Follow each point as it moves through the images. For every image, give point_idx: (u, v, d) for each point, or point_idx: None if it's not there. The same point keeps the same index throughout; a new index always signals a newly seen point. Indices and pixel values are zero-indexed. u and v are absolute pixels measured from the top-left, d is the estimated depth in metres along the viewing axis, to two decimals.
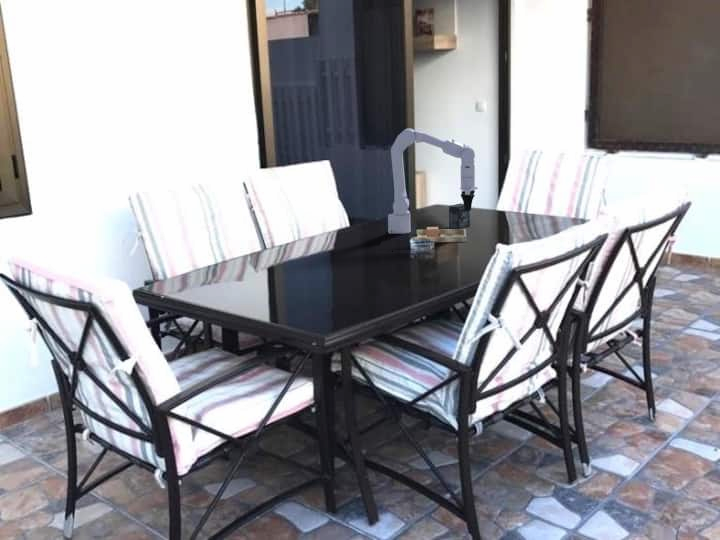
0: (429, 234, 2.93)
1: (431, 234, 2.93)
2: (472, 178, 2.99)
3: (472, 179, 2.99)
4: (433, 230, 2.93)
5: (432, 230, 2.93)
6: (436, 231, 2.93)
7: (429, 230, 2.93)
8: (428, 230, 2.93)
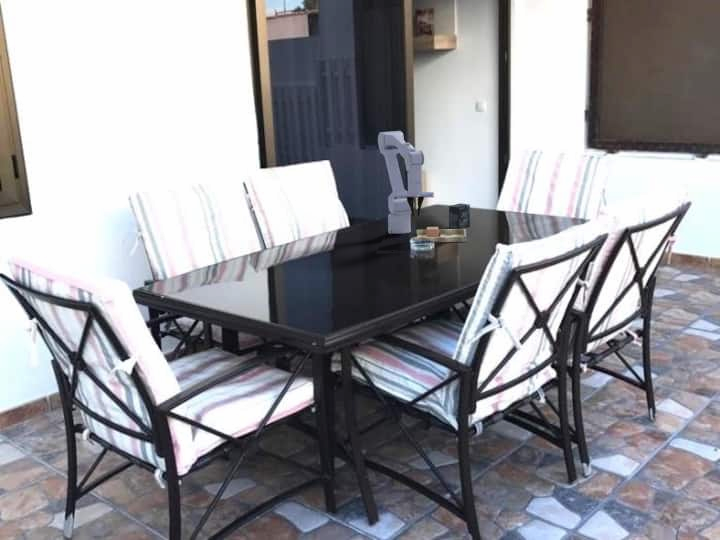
0: (429, 234, 2.93)
1: (431, 234, 2.93)
2: (409, 184, 2.90)
3: (409, 185, 2.90)
4: (433, 230, 2.93)
5: (432, 230, 2.93)
6: (436, 231, 2.93)
7: (429, 230, 2.93)
8: (428, 230, 2.93)
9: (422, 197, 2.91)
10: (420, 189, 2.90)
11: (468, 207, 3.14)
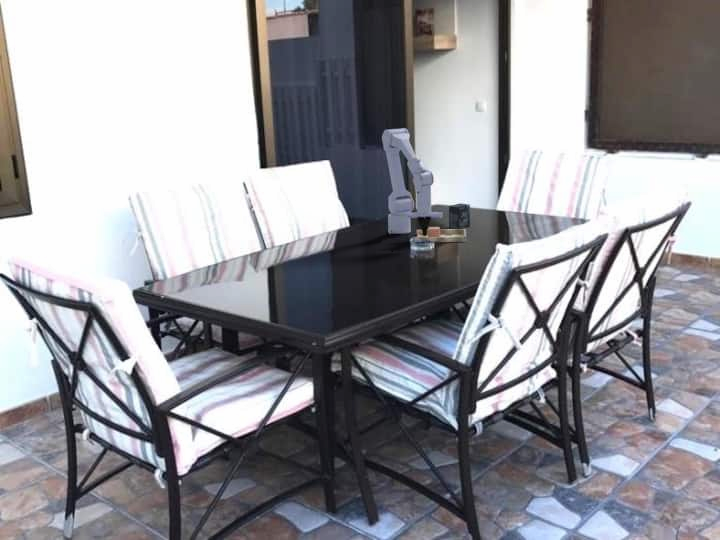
0: (430, 234, 2.93)
1: (433, 234, 2.93)
2: (418, 204, 2.91)
3: (418, 205, 2.91)
4: (434, 230, 2.93)
5: (433, 230, 2.93)
6: (437, 231, 2.93)
7: (430, 230, 2.93)
8: (429, 230, 2.93)
9: (431, 217, 2.93)
10: (429, 209, 2.91)
11: (468, 207, 3.14)
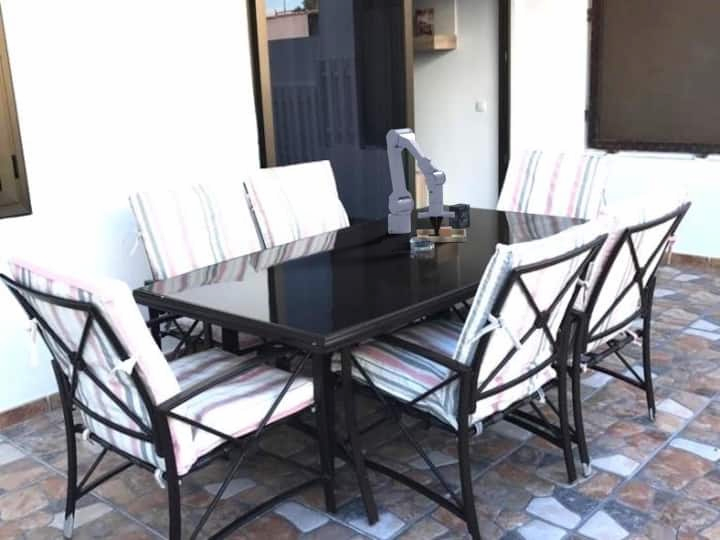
0: (442, 234, 2.93)
1: (445, 233, 2.92)
2: (430, 204, 2.90)
3: (430, 205, 2.91)
4: (447, 230, 2.92)
5: (446, 230, 2.92)
6: (450, 231, 2.92)
7: (443, 230, 2.92)
8: (442, 230, 2.92)
9: None
10: (441, 209, 2.91)
11: (468, 207, 3.14)
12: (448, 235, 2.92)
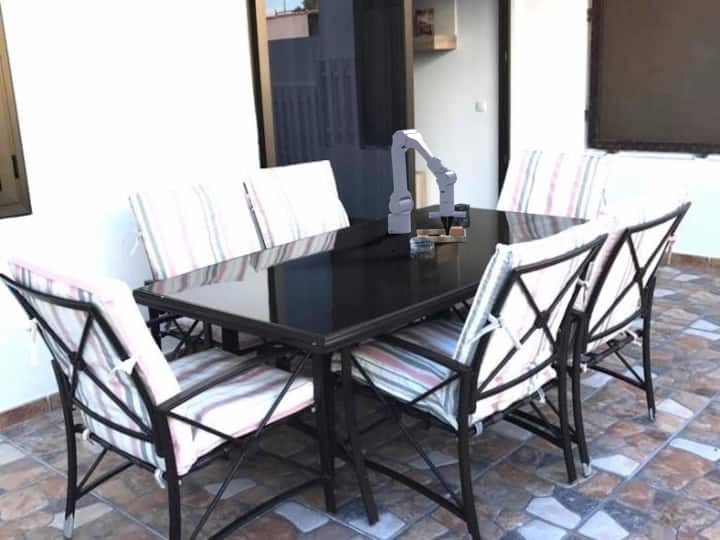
0: (453, 234, 2.92)
1: (456, 233, 2.92)
2: (441, 203, 2.90)
3: (441, 204, 2.90)
4: (457, 230, 2.91)
5: (456, 230, 2.91)
6: (460, 231, 2.91)
7: (453, 230, 2.91)
8: (452, 230, 2.92)
9: None
10: (452, 209, 2.90)
11: (468, 207, 3.14)
12: (459, 235, 2.92)
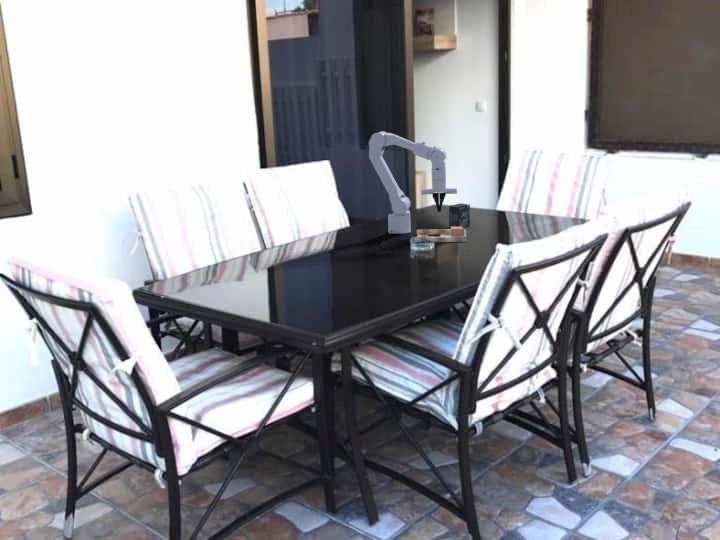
0: (453, 234, 2.92)
1: (456, 233, 2.92)
2: (433, 180, 2.99)
3: (433, 181, 2.99)
4: (457, 230, 2.91)
5: (456, 230, 2.91)
6: (460, 231, 2.91)
7: (453, 230, 2.91)
8: (452, 230, 2.92)
9: (445, 193, 3.01)
10: (444, 186, 2.99)
11: (468, 207, 3.14)
12: (459, 235, 2.92)
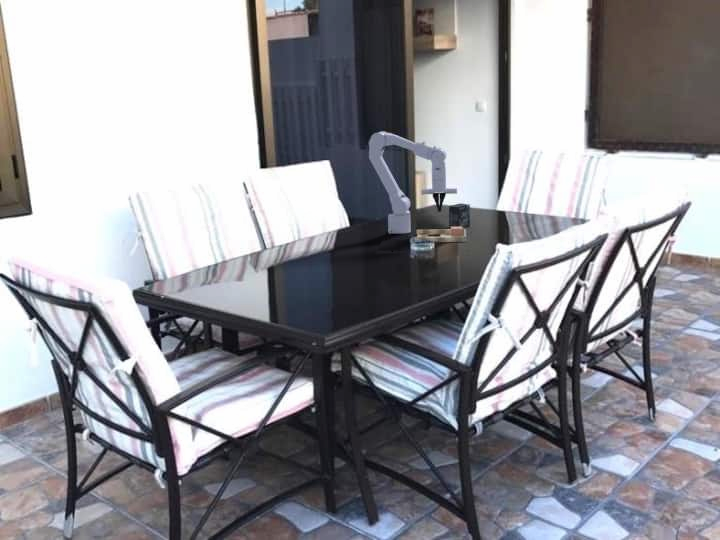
0: (453, 234, 2.92)
1: (456, 233, 2.92)
2: (433, 180, 2.99)
3: (433, 181, 3.00)
4: (457, 230, 2.91)
5: (456, 230, 2.91)
6: (460, 231, 2.91)
7: (453, 230, 2.91)
8: (452, 230, 2.92)
9: (446, 193, 3.01)
10: (444, 185, 3.00)
11: (468, 207, 3.14)
12: (459, 235, 2.92)
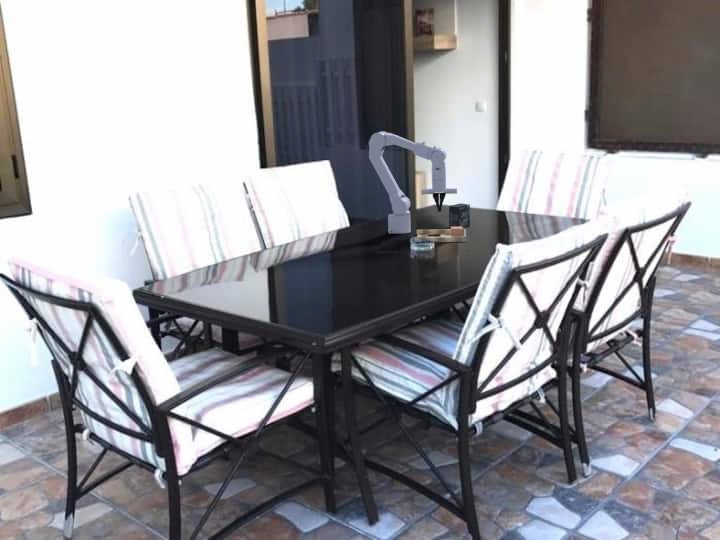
0: (453, 234, 2.92)
1: (456, 233, 2.92)
2: (433, 180, 2.99)
3: (433, 181, 3.00)
4: (457, 230, 2.91)
5: (456, 230, 2.91)
6: (460, 231, 2.91)
7: (453, 230, 2.91)
8: (452, 230, 2.92)
9: (446, 193, 3.01)
10: (444, 185, 3.00)
11: (468, 207, 3.14)
12: (459, 235, 2.92)
